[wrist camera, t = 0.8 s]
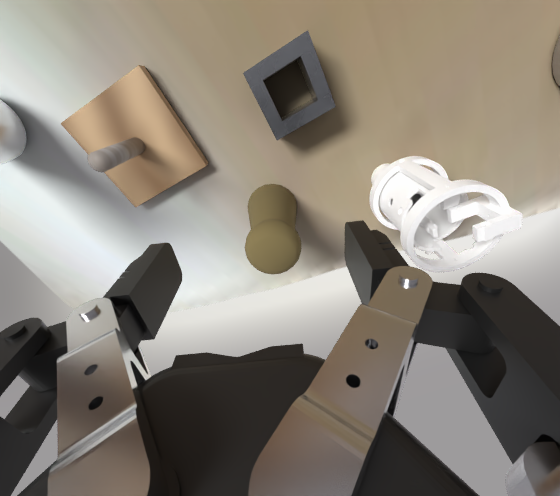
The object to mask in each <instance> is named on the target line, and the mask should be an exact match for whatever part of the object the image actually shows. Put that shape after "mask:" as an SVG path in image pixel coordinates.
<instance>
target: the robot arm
mask: <svg viewBox="0 0 560 496" xmlns="http://www.w3.org/2000/svg"><path fill="white" fill-rule="evenodd" d="M552 67H553V75H554V78H555V81H556V83H557V84H558V85H559V86H560V36H559V38H558V40H557V44H556V47H555V50H554V54H553V62H552ZM345 261H346V265H347V268H348V270H349V273H350V275H351V277H352V280H353V282H354V285H355V287H356V290H357V292H358V295H359V297H360V299H361V302H362V304H361V305H360V306H359V307H358V309H357V310H356V312H355V313H354V315H353V317H352V318H351V320H350V322H349V323H348V325H347V326H346V328H345V330H344V332H343V333H342V334H341V336H340V338H339V340H338V341H337V343H336V344H335V346H334V347H333V350H332V351H331V353H330V354H329V355H328V357H327V359H326V360H324V359H322V358H319V357H316V356H313V355H309V354H304V351H303V344H295V345H283V346H272V347H268V348H265V349H262V350H259V351H256V352H253V353H250V354H247V355H244V356H241V357H232V356H225V355H218V354H212V353H198V354H188V355H177V356H176V357H175V360H174V362H173V365H172V367H170V368H168V369H165V370H163V371H160V372H159V373H157V374H155V375H153V376H151V374H150V371H149V368H148V366H147V363H146V360H145V358H144V355H143V352H142V350H141V348H140V347H139V343H140V341H141V340H151V339H155V336H156V334H157V332H158V330H159V328H160V326H161V324H162V322H163V320H164V317H165V316H166V314H167V311H168V309H169V307H170V305H171V303H172V301H173V299H174V297H175V295H176V293H177V291H178V288H179V286H180V284H181V282H182V272H181V269H180V266H179V264H178V261H177V259H176V256H175V254H174V251H173V249H172V246H171V245H170V244H169V243H160V244H151V245H150V246H149V247H148V248H147V249H146V251H145V252H144V253H143V254H142V256H140V257H139V258H138V259H136V260H135V261H133V262H132V263H131V264H130V265H129V266H128V267H127V269H126V270H125V272H123V274H122V275H121V276H120V279H118V280H117V281H116V282H115V283H114V285H113V286H112V287H111V288H110V289H109V291H108V292H107V293H106V294H105V296H104V297H103V298H97V299H94V300H91V301H88V302H86V303H84V304H82V305H80V306H79V307H77V308H76V309H75V310H74V311H73V312H72V313H71V314H70V315H69V316H68V318H67V320H66V321H65V322H62V323H59V324H56V325H53V326H49V327H47V326H46V325H45V324H44V323H43V322H42V320H40V319H39V318H29V319H26V320H22V321H20V322H17V323H15V324H13V325H11V326H9V327H8V328H6V329H5V330H3V331H2V332H0V396H1V395H2V393H3V392H4V391H5V390H6V389H7V388H8V386H9V385H10V384H11V383H12V381H13V380H14V379H15V378H16V376H18V375H19V376H20V377H21V378H22V379H23V380H24V381H25V382H27V383H28V384H29V385H30V387H29V388H28V389H27V391H26V392H25V393H24V394H23V396H22V397H21V398H20V400H19V401H18V402H17V404H16V405H15V406H14V408H13V409H12V410H11V411H10V413H9V414H8V415H7V417H6V418H5V419H3V418H1V417H0V496H11V494H12V492H13V491H14V489H15V487H16V486H17V484H18V483H19V481H20V479H21V478H22V476H23V474H24V473H25V471H26V469H27V468H28V466H29V464H30V463H31V461H32V459H33V458H34V456H35V454H36V453H37V451H38V450H39V448H40V446H41V445H42V443H43V441H44V439H45V438H46V436H47V435H48V433H49V431H50V430H51V428H52V426H53V424H54V423H55V421H56V420H57V423H58V424H57V431H58V456H57V460H56V461H55V462H54V463H53V464H52V465H51V466H50V467H48V468H47V469H46V470H45V471H44V472H43V473H42V474H41V475H39V476H38V477H37V478H36V479H35V480H34V481H33V482H32V483H31V484H30V485H28V486H27V487H26V488H25V489H24V490H23V491H22V492H21V493H20V494H19V495H17V496H479V495H478V494H477V493H475V492H474V490H473V489H471V488H470V487H469V486H468V485H467V484H466V483H465V482H464V481H463V480H462V479H460V478H459V477H458V476H457V475H456V474H455V473H454V472H452V471H451V470H450V469H449V468H448V467H447V466H446V465H445V464H444V463H443V462H442V461H441V460H440V459H439V458H437V457H436V456H435V455H434V454H433V453H432V452H431V451H430V450H428V448H426V447H425V446H424V445H423V444H422V443H421V442H420V441H419V440H418V439H417V438H416V437H414V436H413V435H412V434H411V433H410V432H409V431H408V430H407V429H406V428H405V427H403V426H402V425H401V424H400V423H399V422H398V421H397V420H396V419H395V418H394V416H395V413H396V410H397V407H398V404H399V400H400V397H401V393H402V390H403V386H404V383H405V380H406V377H407V374H408V371H409V368H410V365H411V362H412V359H413V356H414V353H415V350H416V348H417V344H418V343H423V344H428V345H433V346H439V347H445V348H446V349H447V351H448V353H449V355H450V356H451V358H452V360H453V361H454V363H455V365H456V367H457V368H458V370H459V372H460V374H461V375H462V377H463V379H464V380H465V382H466V384H467V386H468V388H469V389H470V391H471V393H472V394H473V396H474V397H475V400H476V401H477V403H478V405H479V407H480V408H481V410H482V411H483V413H484V415H485V417H486V418H487V420H488V422H489V424H490V425H491V427H492V429H493V431H494V432H495V434H496V436H497V438H498V439H499V441H500V443H501V444H502V446H503V448H504V450H505V451H506V453H507V455H508V456H509V458H510V460H511V462H512V463H513V465H512V466H511V467H510V469H509V470H508V472H507V474H506V480H505V483H506V490H507V494H508V496H560V326H559V325H557V323H555V322H554V321H553V320H552V319H551V318H550V317H549V316H548V315H547V314H545V313H544V312H543V311H542V310H541V309H540V308H539V307H538V306H537V305H535V304H534V303H533V302H532V301H531V300H530V299H529V298H528V297H527V296H526V295H524V294H523V293H522V292H521V291H520V290H519V289H518V288H517V287H516V286H515V285H513V284H512V283H511V282H509V281H507V280H505V279H503V278H501V277H498V276H495V275H492V274H487V273H472V274H468V275H466V276H465V277H464V278H463V279H462V282H461V285H456V284H447V283H438V282H433V281H432V279H431V277H430V276H429V275H428V274H427V273H425V272H424V271H422V270H420V269H418V268H414V267H410V266H408V264H407V263H406V261H405V260H404V259H403V258H402V256H401V255H400V253H399V252H398V251H397V249H395V247H394V245H393V244H392V243H391V241H390V240H389V239H388V237H387V236H386V235H385V234H383V233H381V232H379V231H378V230H371V231H370V229H369V228H368V226H367V225H366V223H365V222H364V221H363V220H362V221H354V222H346V224H345Z"/></svg>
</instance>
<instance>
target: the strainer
mask: <svg viewBox="0 0 560 496" xmlns="http://www.w3.org/2000/svg"><path fill="white" fill-rule="evenodd" d="M419 164H421V165H427V166H429V167H430V168H431V169H432V170H433V171H434V172H433V171H431V170H429V169H427V168H425V167H423V166H420V165H419ZM371 182H372V185H373V186H372V188H371V192H370V207H371V210H372V212H373V214H374V215H375V216H376V218H377V219H378V220H379V221H380V222H381V223H382V224H383V225H385V226H386V227H389V228H391V229H396V230H399V231H400V232H401V235H400V238H401V244H402V247H403V249H404V251H405V252H406V254H407V255H408V256H409V257H410V259H411V260H412V261H413V262H414V263H415V264H416V265H417V266H419V267H420V268H422V269H424V270H427V271H432V272H449V271H454V270H457V269H461V268H463V267H466V266H468V265H470V264H472V263H474V262H476V261H477V260H479V259H480V258H482V257H483V256H485V255H486V254H487V253H488V252H489V251H490V250H491V249H492V248H493V247H494V246H495V245H496V244H497V243H498V242H499V240H500V239H501V237H502V236H503V234H504V233H508V232H511V231H514V230H517V229H520V228H521V226H522V213H521V212H518V211H516V210H514V209H512V208H510V207H509V204H508V201H507V199H506V198H505V196H504V195H503V194H502V193H501V192H500V191H499V190H497V189H495V188H493V187H491V186H488V185H486V184H484V183H482V182H479V181H475V180H456V181H450V180H448V176H447V174H446V172H445V170H444V169H443V167H442V166H441V165H439V164H438V163H436V162H434V161H432V160H430V159H428V158H425V157H420V156H410V157H405V158H402V159H399V160H397V161H395V162H393V163H392V164H382V165H380V166H378V167H377V168H376V169H375V170H374V172H373V174H372V177H371ZM466 192H481V193H484V194H485V195H482V196H479V197H476V198H474V199H471V200H468V195H467V193H466ZM379 208H380V210H381V211H382V212H383V214H384V215H385V216H386V217H387V218H388V219H386V218H385V217H383V216H382V215H381V213H380V211H379ZM473 215H478V216H479V217H481V218H483V219H484V220H486V221H484V222H481V223H479V224H476V225H473V226H472V230H473V239H474V240H475V241H476V242H474V243H473V248H472V249H470V250H464V251H462V252H460V253H457V252H456V251H455V250H454V249H452V248H451V247H450V246H449V245H448V244H446V242H444V241H443V240H442V239H443V238H445V237H446V236H448V235H449V234H451V233H452V232H453V231H454V230H456V229H457V228H458V226H459V225H460V224H461V223H462V221H463V220H464V219H465V218H468V217H470V216H473ZM414 246H415V247H416V248H417V249H419V250H422V251H425V253H426V254H432V253H433V252H435V253H436V254H437V255H438V256H439V257H440V258H441V259H426V258H423V257H420V256H418V255H417V254H416V253H415V250H414Z"/></svg>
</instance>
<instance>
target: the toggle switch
mask: <svg viewBox="0 0 560 496" xmlns="http://www.w3.org/2000/svg"><path fill="white" fill-rule="evenodd" d="M61 125H62V126H63V127H64V128H65V129H66V130H67V131H68V132H69V134H70V135H71V136H72V137H73V138H74V139H75V140H76V141H77V143H78V144H79V145H80V146H81V147H82V148H83V149H84V150H85V151H86V153H87V154H88V162H89V164H90V166H91V167H92V168H93V169H94V170H96V171H98V172H104V173H105V174H106V175H107V176H108V177H109V178H110V179H111V181H112V182H113V183H114V184H115V185H116V186H117V187H118V188H119V189H120V191H121V192H122V193H123V194H124V195H125V196H126V197H127V198H128V200H129V201H130V202H131V203H132V204H133V205H134V206H135V207H137V206H139V205H141V204H142V203H144V202H146V201H148V200H149V199H151V198H153V197H154V196H156V195H158V194H159V193H161V192H163V191H165V190H166V189H168V188H170V187H171V186H173V185H175V184H176V183H178V182H180V181H181V180H183V179H185V178H187V177H188V176H190V175H192V174H193V173H195V172H197V171H198V170H200V169H202V168H203V167H205V166H207V164H208V161H207V160H206V158H205V157H204V155H203V154H202V152H201V151H200V149H199V148H198V146H197V145H196V143H195V142H194V140H193V139H192V137H191V136H190V134H189V133H188V131H187V130H186V128H185V127H184V125H183V124H182V122H181V121H180V119H179V118H178V116H177V115H176V113H175V112H174V110H173V109H172V107H171V106H170V104H169V103H168V101H167V100H166V98H165V97H164V95H163V94H162V92H161V91H160V89H159V88H158V86H157V85H156V83H155V82H154V80H153V78H152V77H151V75H150V74H149V72H148V71H147V69H146V68H145V66H140V65H138V66H137V67H136V68H134V69H133V70H132V71H130V72H129V73H128V74H126V75H125V76H124V77H122V78H121V79H120V80H118V81H117V82H116V83H114V84H113V85H112V86H110V87H109V88H108V89H106V90H105V91H104V92H102V93H101V94H100V95H98V96H97V97H96V98H94V99H93V100H92V101H90V102H89V103H88V104H86V105H85V106H84V107H82V108H81V109H79V110H78V111H77V112H75V113H74V114H73V115H71V116H70V117H69V118H67V119H66V120H65V121H63V122H62V123H61Z"/></svg>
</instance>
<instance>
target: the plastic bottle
mask: <svg viewBox="0 0 560 496" xmlns="http://www.w3.org/2000/svg"><path fill="white" fill-rule="evenodd" d="M25 146H26V131H25V128H24V126H23V123H22V122H21V120H20V118H19V117H18V116H17V114H16V113H15V112H14V111H13V110H12V109H11V108H10V107H9V106H8V105H7V104H5V103H4V102H3V101H1V100H0V164H4V163H7V162H9V161H11V160H13V159H15V158H16V157H18V156H19V155H21V154H22V152H23V151H24V149H25Z"/></svg>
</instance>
